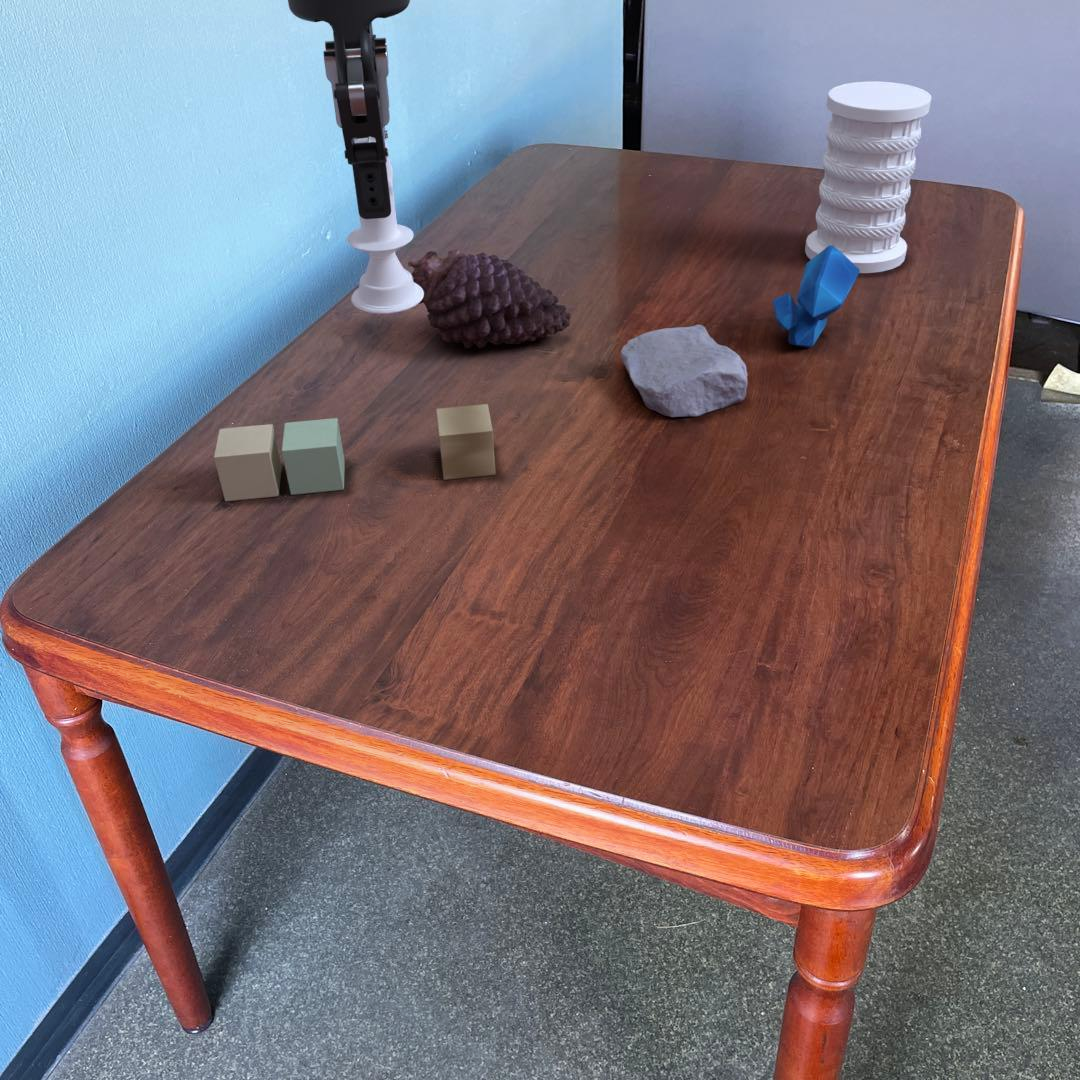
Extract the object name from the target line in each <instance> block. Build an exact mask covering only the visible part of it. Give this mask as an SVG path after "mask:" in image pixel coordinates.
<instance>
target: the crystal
mask: <svg viewBox="0 0 1080 1080" xmlns="http://www.w3.org/2000/svg"><path fill="white" fill-rule="evenodd" d="M859 274H860V273H859V268H857V267H856V266H855V265H854V264H853V263H852V262H851V261H850V260H849V259H848V258H847V257H846V256H845V255H844V254H843V253H842V252H841V251H839V250H838V249H837V248H836V247H834V246H832V245H829V246H828V247H826V248H825V249H824V250H823V251H821V252H820V253H819V254H818V255H816V256H815V257H814V258H813V259H811V260H810V259H809V260H808V262H806V264H805V267H804V270H803V275H802V278H801V282H800V286H799V290H798V294H797V297H796V302H797V303H796V302H795V300H794V297H792V294H791V293H785V294H783V295H780V296H779V297H776V298H775V299H773V300H772V306H773V310H774V314H775V319H776V321H777V323H778V325H779V327H780V329H781V331H784V332H785V331H788V337H787V338H788V339H787V342H788V344H789V346H796V347H802V348H807V349H810V348H812V347H813V346H814V345H815V344H816V342H817V340H818V339H819V337H820V335H821V334H822V332H823V331H824V329H825V328H826V326H827V323H828V317H829V316H830V315H832V314H833V313H835V312H836V311H838V310H839V309H840V308H842V306H843V304H844V303H845V301H846V299H847V296H848V295H849V294H850V291H851V290H852V287H853V286H854V283H855V282H856V280H857V278H858V276H859Z"/></svg>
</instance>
